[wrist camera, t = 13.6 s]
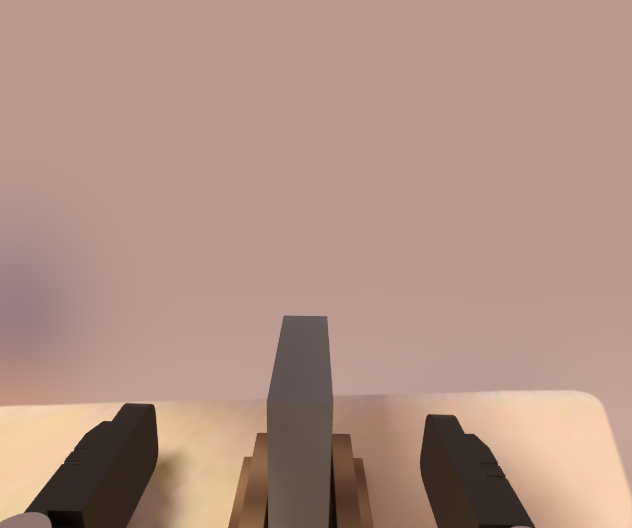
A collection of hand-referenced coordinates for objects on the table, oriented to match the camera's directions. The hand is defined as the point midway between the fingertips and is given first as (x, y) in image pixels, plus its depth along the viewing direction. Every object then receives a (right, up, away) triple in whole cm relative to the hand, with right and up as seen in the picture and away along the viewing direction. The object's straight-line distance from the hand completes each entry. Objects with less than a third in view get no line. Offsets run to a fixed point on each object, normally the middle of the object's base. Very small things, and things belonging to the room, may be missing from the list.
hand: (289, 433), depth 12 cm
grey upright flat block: (0, -13, +15) cm, 20 cm away
